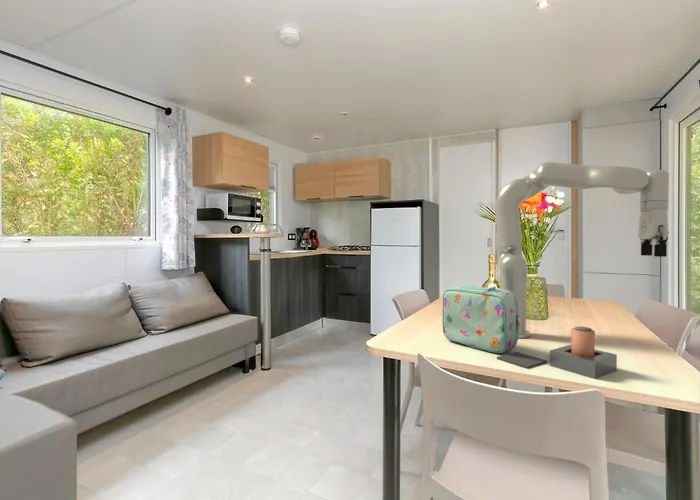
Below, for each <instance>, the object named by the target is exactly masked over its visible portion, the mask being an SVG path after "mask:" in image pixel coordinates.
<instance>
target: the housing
mask: <svg viewBox="0 0 700 500" xmlns="http://www.w3.org/2000/svg"><path fill="white" fill-rule="evenodd" d="M617 357H618V354H617V353H611V352H608V351H603V350H599V349H595V356H594V357H591V358H588V357H584V356H580V355H576V354H572V353H571V344H568V345H565V346H560V347H557V348H554V349H550V350H549V366H550V367H553V368H557V369H560V370H563V371H566V372H571V373H575V374H577V375H581V376H584V377H586V378H587V377H588V378H590V379H595V380H596V379H599V378H601V377H603V376H606V375H609V374H611V373H614V372H616V371H617V365H618V363H617V361H618V358H617Z"/></svg>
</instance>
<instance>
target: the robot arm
mask: <svg viewBox="0 0 700 500" xmlns="http://www.w3.org/2000/svg"><path fill="white" fill-rule="evenodd" d="M669 179H670V174H669V172H668V171H667V170H665V169H654V170H648V171H645V170H644V169H640V168H637V167H631V166H630V167H629V166H622V165H621V166H618V165H583V164H575V163H574V164H572V163H565V162H564V163H563V162H556V161H555V162H553V161H546V162H542V163H541V164H539V165H538V166H537V167H536V168H535V170H533V171H532V172H529V173H528V174H527V175H525V176H524V177H522V178H516V179H514V180H511V181H510V182H508V183H507V184H506V185H505V186H504V187H503V188H502V189H501V191H500V192H499V194H498V195H497V199H496V201H495V210H494V212H495V223H496V224H495V226H496V234H495V247H496V255H497V262H498V263H497V265H498V268H499V289H505V290H508V291H510V292H512V293H513V294H514V295H515V296H516V298H517V301H518V315H519V316H518V318H520V321H521V326H519V335H518V339H525V338H530V336H531V332H530V331H529V330H527V280H528V264H527V260H526V259H525V257H524V256H523V252H522V251H523V249H522V242H523V234H522V227H521V221H520V206H521V203H524V202H526V201H528V199H531V198H533V197H534V196H536V195H537V194H539V193H540V192H542V191H544V190H545V189H547V188H548V187H550V186H552V187H562V188H568V189H578V190H588V189H589V190H590V189H593V188H594V189H595V188H607V189H609V188H610V189H611V188H612V190H613V191H614V192H616V193H617V194H620V195H629V194H630V195H631V194H635V193H636V194H637V193H640V194H639V195H640V196H639V200H640V201H639V212H640V215H639V221H638V238H639V239H640V256H649V257H650V256H654V257H656V258H657V257H661V258H664V257H665V258H666V257H667V253H668V252H667V247H668V246H667V245H668V239H669V237H668V236H669V233H670V232H669V230H668V228H669V227H668V225H669V224H668V212H667V211H669V190H670V189H669V185H670V180H669ZM653 241H654V243H655V244H654V246H653V244H652V242H653ZM653 250H654V251H653Z"/></svg>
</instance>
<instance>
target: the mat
mask: <svg viewBox="0 0 700 500" xmlns="http://www.w3.org/2000/svg"><path fill="white" fill-rule="evenodd" d="M496 360H499V361H502V362H505V363H508V364H511V365H515V366H518V367H521V368H524V369H531V368H533V367H537V366H540V365H543V364H546V363H548V360H546V359H543V358H540V357H536V356H532V355H530V354H529V355H528V354H525V353H521V352H518V351H515V352H510V353H506V354H502V355H500V356H496Z"/></svg>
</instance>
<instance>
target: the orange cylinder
mask: <svg viewBox="0 0 700 500" xmlns="http://www.w3.org/2000/svg"><path fill="white" fill-rule="evenodd" d="M570 334H571V338H570V340H571V344H570V345H571V353H572V354H576V355H580V356H584V357H588V358H591V357H594V356H595V350H596V349H595V347H596V346H595V345H596V343H595V341H596V331H595V330H593V329H592V328H590V327H588V326H581V325H580V326H575V327H572V328H571V333H570Z"/></svg>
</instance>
